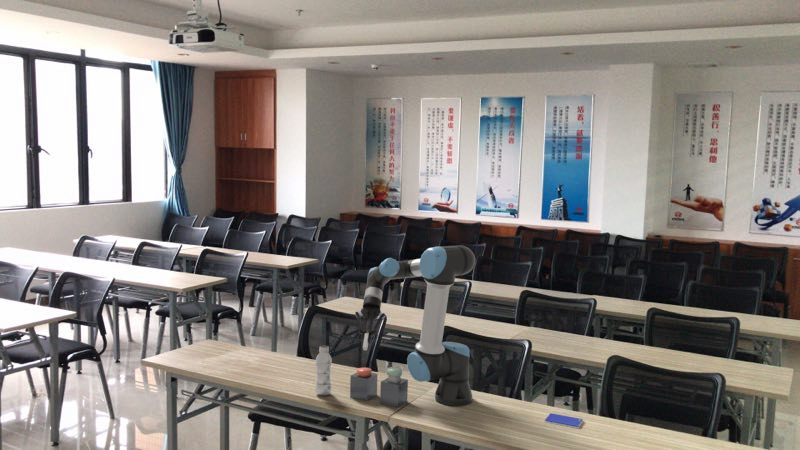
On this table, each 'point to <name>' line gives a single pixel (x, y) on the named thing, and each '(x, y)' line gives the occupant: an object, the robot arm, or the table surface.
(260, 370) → the table surface
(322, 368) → the plastic bottle
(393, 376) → the green button
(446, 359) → the robot arm
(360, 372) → the red button
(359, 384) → the red button post
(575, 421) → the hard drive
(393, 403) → the green button post
